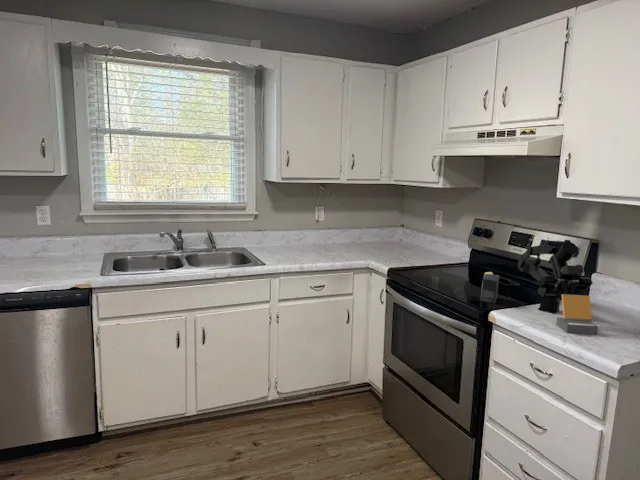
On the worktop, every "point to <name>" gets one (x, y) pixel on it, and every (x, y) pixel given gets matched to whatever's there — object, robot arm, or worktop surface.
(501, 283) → the cable
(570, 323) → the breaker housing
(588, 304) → the orange square tile
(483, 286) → the small box
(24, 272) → the worktop surface
